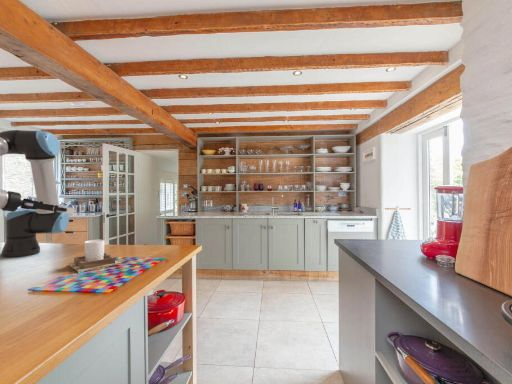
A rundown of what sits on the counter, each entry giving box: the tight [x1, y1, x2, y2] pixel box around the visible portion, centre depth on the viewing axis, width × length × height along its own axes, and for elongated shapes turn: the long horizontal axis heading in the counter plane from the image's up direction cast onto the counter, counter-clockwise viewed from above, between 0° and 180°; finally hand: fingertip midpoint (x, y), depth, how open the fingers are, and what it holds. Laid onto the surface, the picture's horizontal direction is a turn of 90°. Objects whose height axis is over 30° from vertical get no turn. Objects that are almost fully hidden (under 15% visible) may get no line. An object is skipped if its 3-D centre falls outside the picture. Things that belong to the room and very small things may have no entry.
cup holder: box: [68, 252, 121, 273], centre depth 117 cm, size 16×16×4 cm
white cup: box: [83, 239, 106, 262], centre depth 117 cm, size 8×8×10 cm
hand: (66, 210), depth 115 cm, fingers open, 13 cm apart
